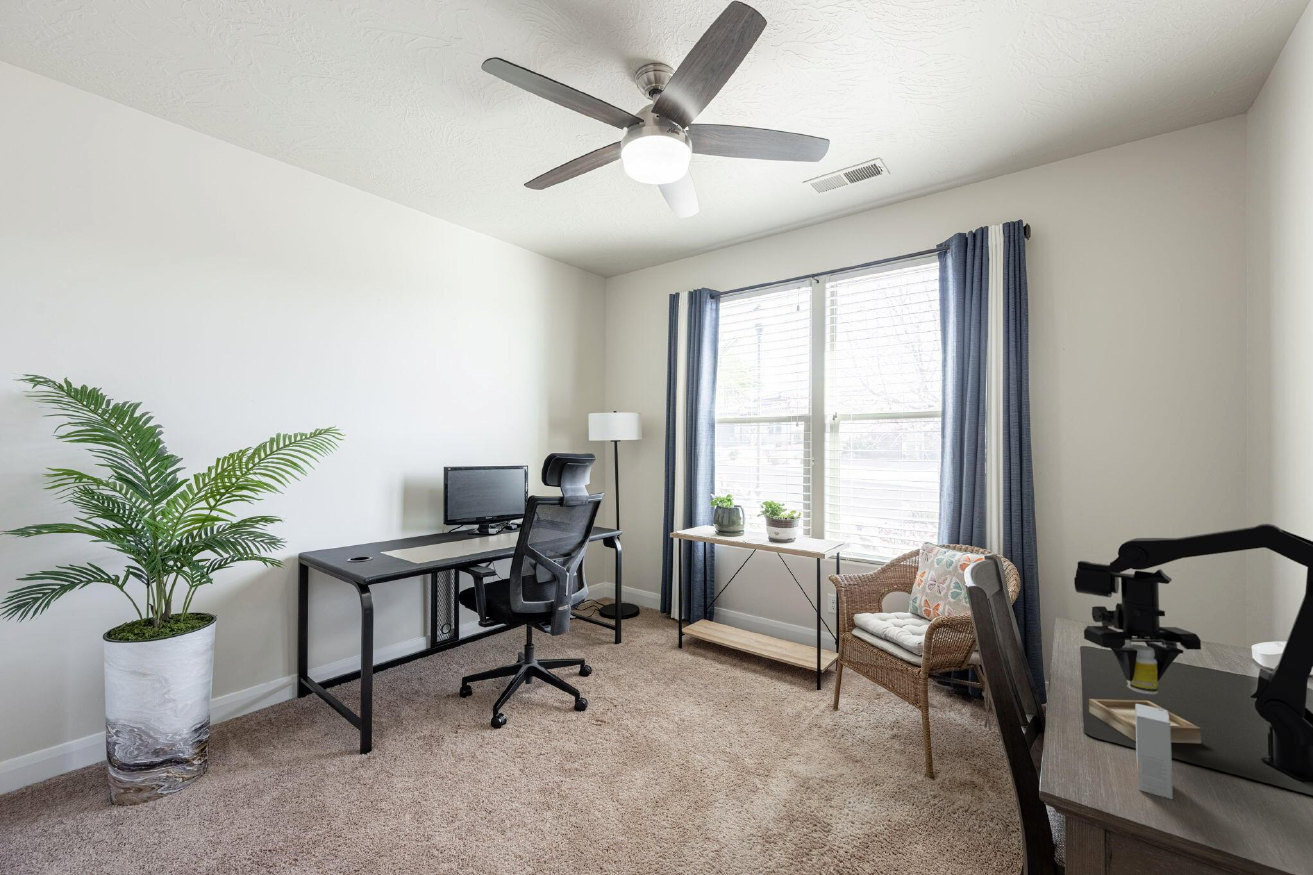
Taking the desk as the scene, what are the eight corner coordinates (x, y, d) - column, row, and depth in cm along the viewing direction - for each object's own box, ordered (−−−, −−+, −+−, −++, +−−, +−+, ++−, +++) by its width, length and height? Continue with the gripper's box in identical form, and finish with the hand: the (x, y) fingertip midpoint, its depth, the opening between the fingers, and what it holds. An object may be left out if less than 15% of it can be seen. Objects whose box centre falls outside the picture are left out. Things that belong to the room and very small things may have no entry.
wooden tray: (1201, 745, 105) (1200, 728, 105) (1134, 743, 106) (1134, 726, 106) (1148, 716, 117) (1148, 700, 117) (1089, 714, 118) (1089, 698, 118)
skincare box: (1136, 773, 95) (1134, 702, 95) (1170, 783, 92) (1168, 709, 92) (1137, 790, 90) (1135, 715, 90) (1173, 800, 87) (1171, 723, 88)
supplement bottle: (1164, 695, 109) (1162, 652, 109) (1136, 693, 110) (1135, 650, 110) (1148, 686, 113) (1146, 644, 114) (1121, 684, 114) (1120, 642, 115)
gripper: (1153, 592, 120) (1155, 666, 119) (1064, 591, 121) (1066, 664, 120) (1202, 606, 109) (1205, 687, 108) (1103, 605, 110) (1105, 686, 109)
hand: (1142, 680), depth 112 cm, fingers closed on supplement bottle, 5 cm apart
